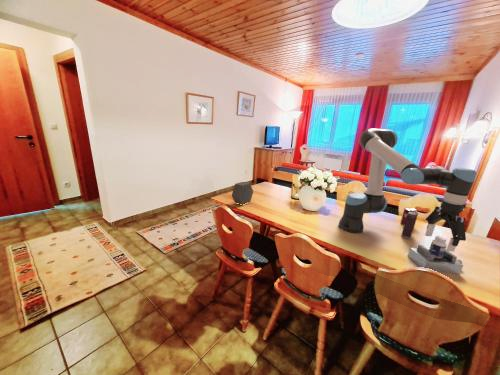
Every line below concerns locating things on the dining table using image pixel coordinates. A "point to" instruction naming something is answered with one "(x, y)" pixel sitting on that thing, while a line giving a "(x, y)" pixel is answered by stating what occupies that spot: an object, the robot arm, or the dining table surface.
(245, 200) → the planter
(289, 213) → the dining table surface
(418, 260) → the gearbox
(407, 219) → the supplement box
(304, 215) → the dining table surface
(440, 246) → the pill bottle
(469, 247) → the dining table surface
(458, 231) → the robot arm
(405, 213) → the soda can
